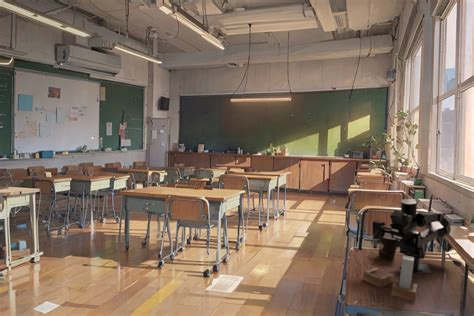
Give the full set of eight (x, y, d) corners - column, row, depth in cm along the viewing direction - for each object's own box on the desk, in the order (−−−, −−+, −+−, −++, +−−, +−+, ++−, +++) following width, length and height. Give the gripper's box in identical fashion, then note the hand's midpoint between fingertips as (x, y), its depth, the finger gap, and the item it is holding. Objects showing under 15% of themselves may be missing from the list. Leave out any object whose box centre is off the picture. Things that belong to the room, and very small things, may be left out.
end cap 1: (374, 277, 153) (375, 267, 153) (392, 284, 148) (393, 274, 147) (362, 281, 148) (363, 272, 148) (381, 289, 142) (382, 279, 142)
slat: (399, 289, 142) (403, 254, 140) (409, 292, 140) (414, 257, 139) (398, 293, 138) (402, 258, 136) (408, 296, 136) (413, 260, 135)
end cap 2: (393, 288, 144) (394, 278, 143) (416, 294, 140) (417, 284, 140) (390, 297, 137) (392, 286, 136) (414, 303, 133) (415, 292, 133)
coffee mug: (398, 262, 173) (401, 240, 172) (378, 259, 174) (380, 237, 173) (392, 253, 184) (394, 232, 183) (373, 250, 185) (375, 230, 184)
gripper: (383, 203, 161) (361, 216, 152) (429, 214, 147) (408, 228, 138) (383, 228, 164) (362, 241, 155) (428, 241, 150) (408, 257, 141)
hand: (384, 241), depth 147 cm, fingers open, 9 cm apart
